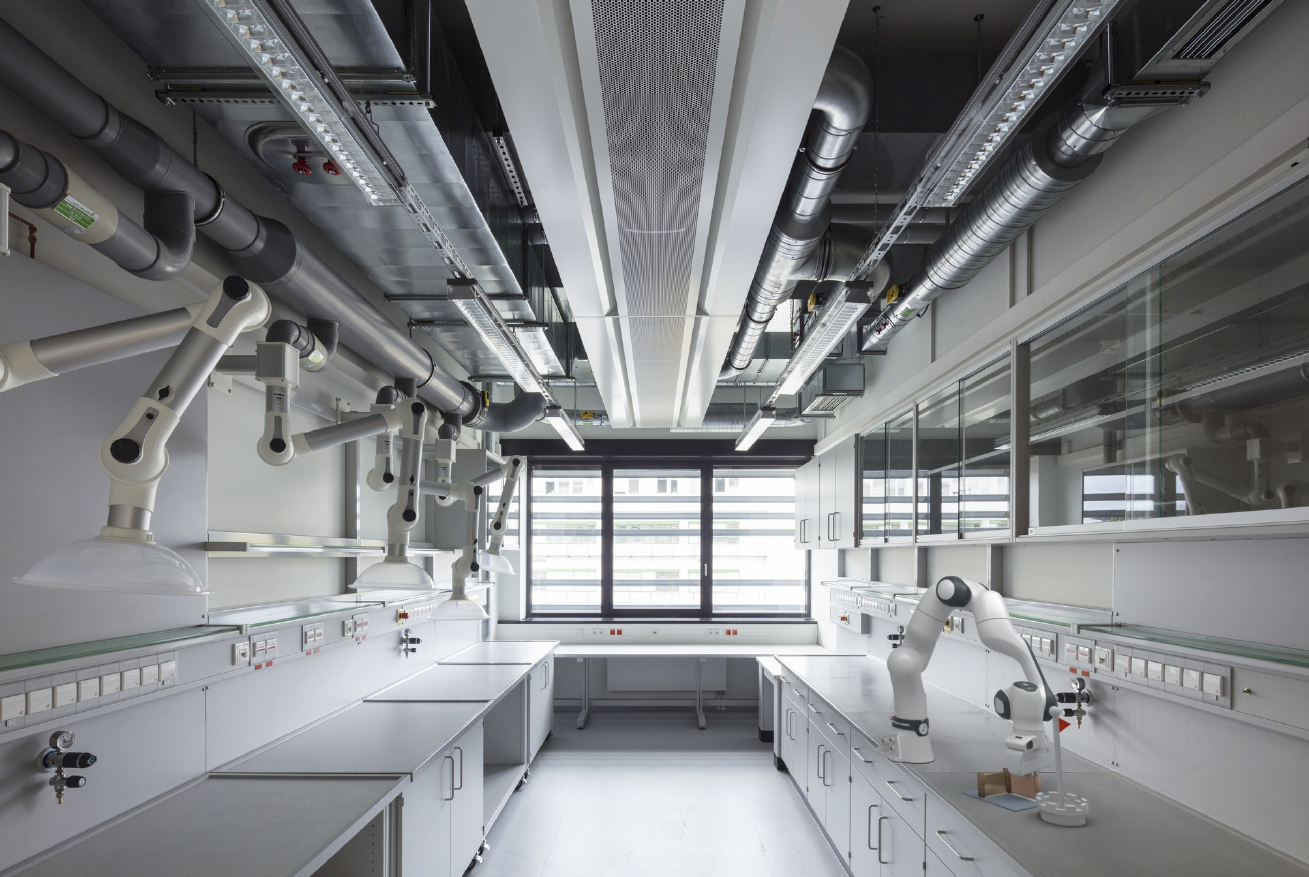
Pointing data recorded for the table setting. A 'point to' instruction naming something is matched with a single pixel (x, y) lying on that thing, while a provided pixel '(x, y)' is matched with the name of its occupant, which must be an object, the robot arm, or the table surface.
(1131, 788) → the table surface
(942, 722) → the table surface
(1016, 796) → the board
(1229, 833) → the table surface
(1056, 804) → the flag stand
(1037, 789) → the fence section
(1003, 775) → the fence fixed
